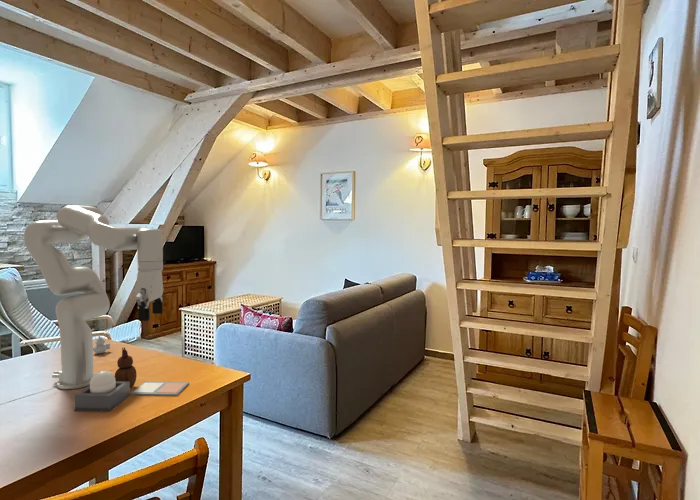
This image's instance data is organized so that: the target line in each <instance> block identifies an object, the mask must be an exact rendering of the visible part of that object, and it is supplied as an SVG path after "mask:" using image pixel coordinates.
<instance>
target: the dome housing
mask: <svg viewBox="0 0 700 500" xmlns="http://www.w3.org/2000/svg"><path fill="white" fill-rule="evenodd" d="M130 389H131V388H130V381H116V388H115V389H114V390H112V391H111V392H109V393H90V385H89V386H86V387H84V389H82V390H80V391H79V392H77V393H76V394H74V395H73V399H74V401H73V402H74V412H111V411H113V410H114V409H116V408H117V407H118V406H120V404H122V403H123V402H124V401H126V400H127V399H128V398H129V397H131V395H130V393H131V390H130Z"/></svg>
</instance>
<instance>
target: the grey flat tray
mask: <svg viewBox="0 0 700 500" xmlns="http://www.w3.org/2000/svg"><path fill="white" fill-rule="evenodd" d="M188 385H190V382H187V381H185V382H184V381H183V382H182V381H178V382H177V381H171V382H170V381H144V382H143V383H141V384H140V385H138V386H137V387H136V388H134V390H132V391H130V396H143V397H144V396H147V397H149V396H153V397H154V396H155V397H160V396H161V397H163V396H165V397H178V395H180V394H181V393H182V392H183V391H184V390H185V389H186V388H187V387H188Z"/></svg>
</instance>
